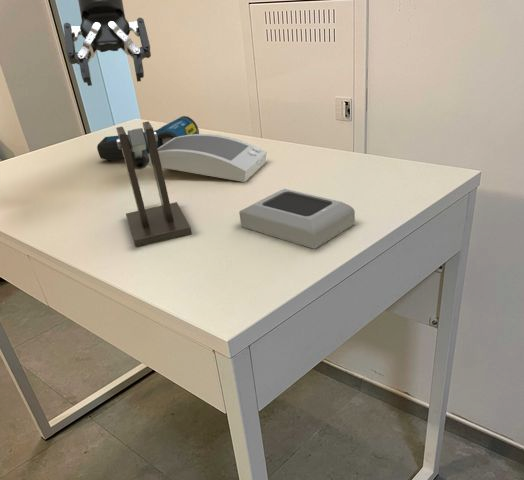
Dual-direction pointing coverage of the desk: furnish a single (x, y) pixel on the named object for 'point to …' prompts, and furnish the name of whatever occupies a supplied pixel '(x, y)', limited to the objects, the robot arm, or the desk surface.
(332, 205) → the grey flat block
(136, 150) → the latch lever
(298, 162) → the desk surface
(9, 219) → the desk surface
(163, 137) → the infrared thermometer
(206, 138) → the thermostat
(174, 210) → the latch bracket
